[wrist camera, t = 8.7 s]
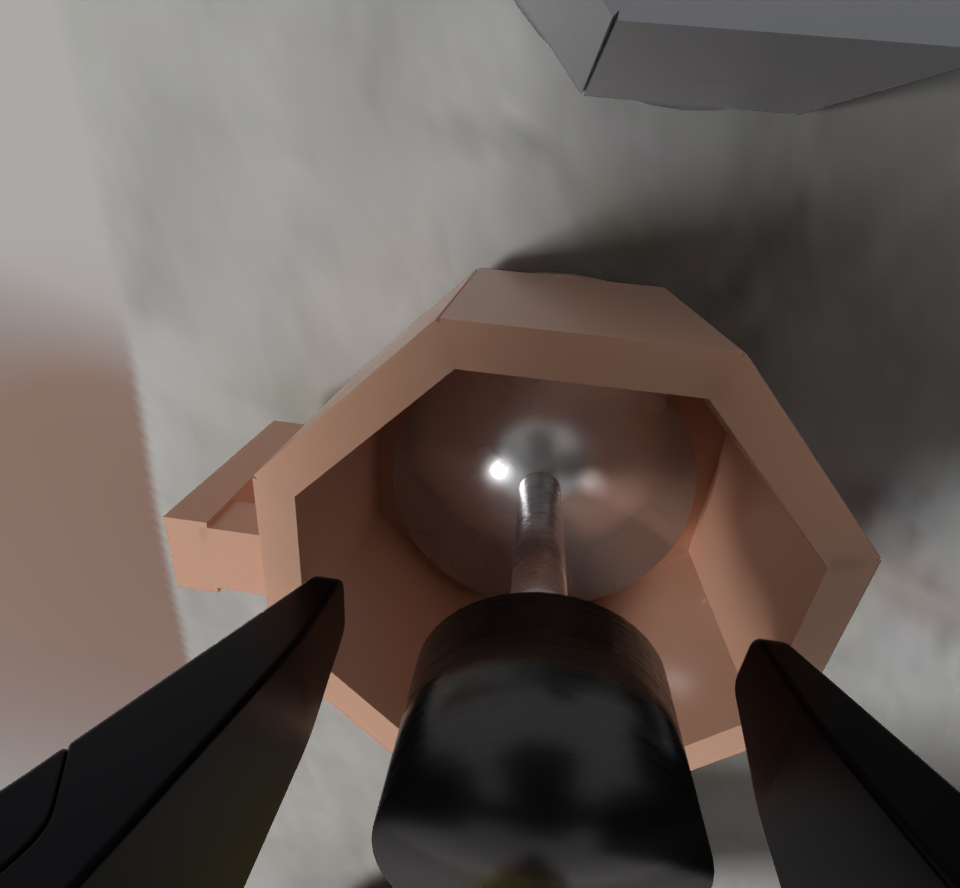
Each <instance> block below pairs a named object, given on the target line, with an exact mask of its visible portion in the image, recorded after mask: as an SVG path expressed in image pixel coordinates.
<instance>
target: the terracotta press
mask: <svg viewBox="0 0 960 888" xmlns="http://www.w3.org/2000/svg"><path fill="white" fill-rule="evenodd" d="M454 369H458V370H467V371H475V372H484V373H493V374H501V375H510V376H518V377H527V378H535V379H544V380H552V381H561V382H569V383H578V384H586V385H595V386H604V387H612V388H621V389H629V390H638V391H646V392H655V393H663V394H666V395H667V396H668V397H669V399H670V401H671V402H672V404H673V405H674V407H675V409H676V410H677V412H678V413H679V415H680V417H681V418H682V420H683V422H684V424H685V426H686V429H687V431H688V433H689V436H690V438H691V441H692V445H693V449H694V453H695V457H696V469H697V483H696V494H695V499H694V503H693V507H692V511H691V514H690V516H689V519H688V521H687V524H686V526H685V528H684V530H683V532H682V533H681V535H680V537H679V539H678V540H677V542H676V543H675V545H674V546H673V547H672V548H671V550H670V551H669V552H668V554H667V555H666V556H665V557H664V558H663V559H662V560H661V561H660V562H659V563H658V564H657V565H656V566H655V567H654V568H653V569H651V570H650V571H649V572H648V573H646V574H645V575H644V576H642V577H641V578H640V579H638V580H636V581H635V582H633V583H631V584H630V585H628V586H626V587H625V588H623V589H620V590H618V591H616V592H614V593H612V594H609V595H607V596H604V597H601V598H598V599H595V600H591V601H589V602H592V603H595V604H597V605H599V606H602V607H604V608H607V609H609V610H610V611H612V612H614V613H616V614H618V615H619V616H621V617H623V618H624V619H626V620H627V621H628V622H630V623H631V624H632V625H634V626H635V627H636V628H637V629H638V630H639V631H640V632H641V633H642V634H643V635H644V636H645V637H646V638H647V639H648V640H649V641H650V643H651V644H652V645H653V647H654V648H655V649H656V651H657V653H658V655H659V657H660V659H661V661H662V663H663V666H664V669H665V673H666V676H667V680H668V684H669V688H670V692H671V696H672V700H673V704H674V708H675V712H676V716H677V720H678V723H679V727H680V731H681V735H682V739H683V743H684V747H685V751H686V755H687V759H688V763H689V767H690V771H691V770H694V769H697V768H700V767H702V766H705V765H708V764H711V763H714V762H716V761H719V760H722V759H725V758H727V757H730V756H733V755H736V754H738V753H741V752H744V751H746V748H745V742H744V737H743V732H742V727H741V722H740V717H739V712H738V707H737V702H736V697H735V681H736V677H737V674H738V672H739V670H740V667H741V665H742V663H743V660H744V658H745V656H746V653H747V651H748V649H749V646H750V644H751V643H752V642H753V641H754V640H755V639H768V640H775V641H781V642H785V643H787V644H789V645H790V646H791V647H793V648H794V649H795V650H796V651H797V652H798V653H800V654H801V655H802V656H803V657H804V658H805V659H806V660H808V661H809V662H810V663H811V664H812V665H813V666H815V667H816V668H817V669H818V670H819V671H820V672H821V673H822V672H823V670H824V668H825V666H826V664H827V662H828V661H829V659H830V657H831V655H832V653H833V651H834V649H835V647H836V645H837V644H838V642H839V640H840V638H841V636H842V634H843V632H844V630H845V628H846V627H847V625H848V623H849V621H850V619H851V617H852V615H853V613H854V611H855V609H856V608H857V606H858V604H859V602H860V600H861V598H862V596H863V594H864V592H865V591H866V589H867V587H868V585H869V583H870V581H871V579H872V577H873V575H874V573H875V572H876V570H877V568H878V566H879V564H880V562H881V561H880V559H879V558H881V557H880V556H879V554H878V553H877V551H876V549H875V548H874V546H873V545H872V543H871V542H870V540H869V539H868V537H867V536H866V534H865V533H864V531H863V530H862V528H861V527H860V525H859V524H858V522H857V521H856V519H855V517H854V516H853V514H852V513H851V511H850V510H849V508H848V507H847V505H846V504H845V502H844V501H843V499H842V498H841V496H840V495H839V493H838V492H837V490H836V489H835V487H834V486H833V484H832V482H831V481H830V479H829V478H828V476H827V475H826V473H825V472H824V470H823V469H822V467H821V466H820V464H819V463H818V461H817V460H816V458H815V457H814V455H813V454H812V452H811V450H810V449H809V447H808V446H807V444H806V443H805V441H804V440H803V438H802V437H801V435H800V434H799V432H798V431H797V429H796V428H795V426H794V425H793V423H792V422H791V420H790V418H789V417H788V415H787V414H786V412H785V411H784V409H783V408H782V406H781V405H780V403H779V402H778V400H777V399H776V397H775V396H774V394H773V393H772V391H771V390H770V388H769V386H768V385H767V383H766V382H765V380H764V379H763V377H762V376H761V374H760V373H759V371H758V370H757V368H756V367H755V365H754V364H753V362H752V361H751V359H750V358H749V356H748V355H747V354H746V353H745V352H744V351H743V350H741V349H740V348H739V347H738V346H736V345H735V344H734V343H733V342H731V341H730V340H729V339H728V338H726V337H725V336H724V335H723V334H722V333H720V332H719V331H718V330H717V329H715V328H714V327H713V326H712V325H710V324H709V323H708V322H707V321H705V320H704V319H703V318H702V317H700V316H699V315H698V314H697V313H696V312H694V311H693V310H692V309H691V308H689V307H688V306H687V305H686V304H684V303H683V302H682V301H681V300H679V299H678V298H677V297H676V296H675V295H673V294H672V293H671V292H670V291H668V290H667V289H665V288H664V287H655V286H646V285H636V284H627V283H617V282H608V281H605V280H602V279H599V278H595V277H589V276H583V275H578V274H572V273H554V272H536V273H523V272H514V271H504V270H495V269H485V268H479V269H478V270H477V269H476V270H475V271H474V272H472V273H471V274H470V275H469V276H468V277H467V278H466V279H464V280H463V281H462V282H461V283H460V284H459V285H458V286H456V287H455V288H454V289H453V290H452V291H451V292H449V293H448V294H447V295H446V296H445V297H444V298H443V299H441V300H440V301H439V302H438V303H437V304H436V305H435V306H433V307H432V308H431V309H430V310H429V311H428V312H426V313H425V314H424V315H422V316H421V317H420V318H418V319H417V320H416V321H415V322H414V323H413V324H412V325H411V326H410V327H409V328H408V329H407V330H406V331H405V332H404V333H402V334H401V335H400V336H399V337H398V338H397V339H395V340H394V341H393V342H392V343H391V344H390V345H389V346H387V347H386V348H385V349H384V350H383V351H382V352H381V353H379V354H378V355H377V356H376V357H375V358H374V359H372V360H371V361H370V362H369V363H368V364H367V365H366V366H364V367H363V368H362V369H361V370H360V371H359V372H358V373H356V374H355V375H354V376H353V377H352V378H351V379H350V380H349V381H348V382H347V383H346V384H345V385H344V386H343V387H342V388H341V389H340V390H339V391H338V392H337V393H336V394H335V395H334V396H333V397H332V398H331V399H330V400H329V401H328V402H327V403H326V404H325V405H324V406H323V407H322V408H321V409H320V410H319V411H318V412H317V413H316V414H315V415H314V416H313V417H312V418H311V419H310V420H309V421H308V422H307V423H306V424H305V425H304V424H296V423H288V422H280V421H273V422H272V423H271V424H270V425H269V426H267V427H266V428H265V429H264V430H263V431H262V432H260V433H259V434H258V435H257V436H256V437H255V438H254V439H252V440H251V441H250V442H249V443H248V444H247V445H245V446H244V447H243V448H242V449H241V450H240V451H239V452H237V453H236V454H235V455H234V456H233V457H232V458H230V459H229V460H228V461H227V462H226V463H225V464H223V465H222V466H221V467H220V468H219V469H218V470H217V471H215V472H214V473H213V474H212V475H211V476H210V477H208V478H207V479H206V480H205V481H204V482H203V483H202V484H200V485H199V486H198V487H197V488H196V489H195V490H193V491H192V492H191V493H190V494H189V495H188V496H186V497H185V498H184V499H183V500H182V501H181V502H180V503H178V504H177V505H176V506H175V507H174V508H173V509H171V510H170V511H169V512H168V513H167V514H166V515H165V516H163V519H164V524H165V529H166V533H167V538H168V543H169V547H170V552H171V557H172V561H173V566H174V571H175V575H176V580H177V585H178V587H184V588H191V589H198V590H204V591H211V592H219V591H220V590H221V588H222V589H229V590H236V591H243V592H250V593H256V594H263V595H266V597H267V605H268V607H270V606H271V605H273V604H274V603H276V602H277V601H279V600H280V599H281V598H283V597H284V596H286V595H287V594H289V593H290V592H292V591H293V590H295V589H296V588H297V587H299V586H300V585H302V584H303V583H305V582H306V581H308V580H309V579H311V578H313V577H315V576H322V577H329V578H336V579H340V580H341V581H342V583H343V586H344V605H345V627H344V632H343V636H342V640H341V643H340V646H339V649H338V652H337V655H336V658H335V661H334V665H333V668H332V671H331V674H330V677H329V680H328V683H327V686H326V689H325V693H324V696H323V698H324V699H326V700H327V701H328V702H329V703H331V704H332V705H333V706H334V707H335V708H337V709H338V710H339V711H340V712H342V713H343V714H344V715H345V716H346V717H348V718H349V719H350V720H351V721H353V722H354V723H355V724H356V725H357V726H359V727H360V728H361V729H362V730H364V731H365V732H366V733H367V734H368V735H370V736H371V737H372V738H373V739H374V740H376V741H377V742H378V743H379V744H381V745H382V746H383V747H384V748H385V749H387V750H388V751H389V752H390V753H393V750H394V746H395V742H396V738H397V735H398V731H399V727H400V723H401V720H402V716H403V712H404V708H405V704H406V701H407V697H408V693H409V689H410V686H411V682H412V678H413V674H414V671H415V667H416V663H417V659H418V656H419V653H420V650H421V648H422V646H423V644H424V642H425V641H426V639H427V637H428V636H429V635H430V633H431V632H432V631H433V630H434V628H435V627H436V626H437V625H439V624H440V623H441V622H442V621H443V620H444V619H445V618H447V617H448V616H450V615H451V614H453V613H454V612H456V611H457V610H459V609H461V608H463V607H465V606H467V605H469V604H471V603H474V602H477V601H480V600H482V599H485V598H489V597H488V596H486V595H483V594H481V593H479V592H476V591H474V590H471V589H470V588H468V587H466V586H464V585H462V584H461V583H459V582H457V581H455V580H454V579H453V578H451V577H450V576H448V575H447V574H445V573H444V572H443V571H442V570H440V569H439V568H438V567H437V566H436V565H435V564H434V563H432V562H431V561H430V560H429V559H428V557H427V556H426V555H425V554H424V553H423V552H422V551H421V550H420V548H419V547H418V546H417V544H416V543H415V541H414V540H413V538H412V537H411V536H410V534H409V532H408V530H407V528H406V526H405V524H404V522H403V520H402V518H401V515H400V512H399V509H398V506H397V503H396V498H395V493H394V487H393V462H394V453H395V449H396V445H397V441H398V437H399V435H400V433H401V430H402V428H403V425H404V423H405V421H406V419H407V417H408V416H409V414H410V412H411V411H412V409H413V407H414V406H415V404H416V402H417V400H418V399H419V397H420V396H422V395H423V394H424V393H425V392H427V391H428V390H429V389H430V388H432V387H433V386H434V385H435V384H437V383H438V382H439V381H440V380H442V379H443V378H444V377H445V376H447V375H448V374H449V373H450V372H452V371H453V370H454Z"/></svg>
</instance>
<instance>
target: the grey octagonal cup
mask: <svg viewBox="0 0 960 888" xmlns="http://www.w3.org/2000/svg"><path fill="white" fill-rule="evenodd" d="M514 1H515V3H516V5H517V6H518V7H519V9H520V10H521V11H522V13H523V14H524V15H525V17H526V18H527V19H528V21H529V22H530V23H531V25H532V26H533V27H534V29H535V30H536V31H537V33H538V34H539V35H540V36H541V37H542V38H543V39H544V40H545V41H546V42H547V43H548V44H549V46H550V47H551V49H552V50H553V52H554V53H555V55H556V56H557V58H558V60H559V61H560V63H561V64H562V66H563V67H564V69H565V70H566V72H567V73H568V75H569V76H570V78H571V79H572V81H573V82H574V84H575V86H576V87H577V89H578V90H579V92H580V93H583V92H584V91H585V92H584V96H592V97H604V98H615V99H627V100H638V101H641V102H644V103H647V104H650V105H656V106H662V107H668V108H674V109H680V110H721V109H728V108H731V109H743V110H754V111H766V112H778V113H789V114H803V113H807V112H810V111H814V110H817V109H820V108H824V107H827V106H831V105H834V104H838V103H841V102H845V101H848V100H852V99H855V98H859V97H862V96H866V95H869V94H872V93H876V92H879V91H883V90H886V89H890V88H893V87H897V86H900V85H904V84H907V83H911V82H914V81H918V80H921V79H925V78H928V77H931V76H935V75H938V74H942V73H945V72H949V71H952V70H956V69H959V68H960V0H514Z"/></svg>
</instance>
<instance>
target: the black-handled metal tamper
mask: <svg viewBox="0 0 960 888" xmlns="http://www.w3.org/2000/svg"><path fill="white" fill-rule="evenodd" d="M696 483H697V469H696V457H695V453H694V449H693V445H692V441H691V438H690V436H689V433H688V431H687V429H686V426H685V424H684V422H683V420H682V418H681V417H680V415H679V413H678V412H677V410H676V409H675V407H674V405H673V404H672V402H671V401H670V399H669V397H668V396H667V395H666V394H663V393H655V392H646V391H638V390H629V389H621V388H612V387H604V386H595V385H586V384H578V383H569V382H561V381H552V380H544V379H535V378H527V377H518V376H510V375H501V374H493V373H484V372H475V371H467V370H458V369H454V370H453V371H452V372H450V373H449V374H448V375H447V376H445V377H444V378H443V379H442V380H440V381H439V382H438V383H437V384H435V385H434V386H433V387H432V388H430V389H429V390H428V391H427V392H425V393H424V394H423V395H422V396H420V397H419V399H418V400H417V402H416V404H415V406H414V407H413V409H412V411H411V412H410V414H409V416H408V417H407V419H406V421H405V423H404V425H403V428H402V430H401V433H400V435H399V437H398V441H397V445H396V449H395V453H394V462H393V487H394V493H395V498H396V503H397V506H398V509H399V512H400V515H401V518H402V520H403V522H404V524H405V526H406V528H407V530H408V532H409V534H410V536H411V537H412V538H413V540H414V541H415V543H416V544H417V546H418V547H419V548H420V550H421V551H422V552H423V553H424V554H425V555H426V556H427V557H428V559H429V560H430V561H431V562H432V563H434V564H435V565H436V566H437V567H438V568H439V569H440V570H442V571H443V572H444V573H445V574H447V575H448V576H450V577H451V578H453V579H454V580H455V581H457V582H459V583H461V584H462V585H464V586H466V587H468V588H470V589H471V590H474V591H476V592H479V593H481V594H483V595H486V596H488V597H489V598H485V599H482V600H480V601H477V602H474V603H471V604H469V605H467V606H465V607H463V608H461V609H459V610H457V611H456V612H454V613H453V614H451V615H450V616H448V617H447V618H445V619H444V620H443V621H442V622H441V623H440V624H439V625H437V626H436V627H435V628H434V630H433V631H432V632H431V633H430V635H429V636H428V637H427V639H426V641H425V642H424V644H423V646H422V648H421V650H420V653H419V656H418V659H417V663H416V667H415V671H414V674H413V678H412V682H411V686H410V689H409V693H408V697H407V701H406V704H405V708H404V712H403V716H402V720H401V723H400V727H399V731H398V735H397V738H396V742H395V746H394V750H393V753H392V757H391V761H390V765H389V769H388V772H387V776H386V780H385V784H384V787H383V791H382V795H381V799H380V802H379V806H378V810H377V814H376V818H375V821H374V825H373V831H372V847H373V853H374V856H375V859H376V862H377V865H378V866H379V868H380V870H381V872H382V874H383V875H384V877H385V878H386V879H387V881H388V882H389V883H390V884H391V886H392V887H393V888H711V887H712V885H713V877H714V865H713V857H712V853H711V849H710V845H709V841H708V837H707V833H706V830H705V826H704V822H703V818H702V814H701V810H700V806H699V802H698V798H697V794H696V790H695V786H694V782H693V778H692V775H691V771H690V767H689V763H688V759H687V755H686V751H685V747H684V743H683V739H682V735H681V731H680V727H679V723H678V720H677V716H676V712H675V708H674V704H673V700H672V696H671V692H670V688H669V684H668V680H667V676H666V673H665V669H664V666H663V663H662V661H661V659H660V657H659V655H658V653H657V651H656V649H655V648H654V647H653V645H652V644H651V643H650V641H649V640H648V639H647V638H646V637H645V636H644V635H643V634H642V633H641V632H640V631H639V630H638V629H637V628H636V627H635V626H634V625H632V624H631V623H630V622H628V621H627V620H626V619H624V618H623V617H621V616H619V615H618V614H616V613H614V612H612V611H610V610H609V609H607V608H604V607H602V606H599V605H597V604H595V603H592V602H589V601H591V600H595V599H598V598H601V597H604V596H607V595H609V594H612V593H614V592H616V591H618V590H620V589H623V588H625V587H626V586H628V585H630V584H631V583H633V582H635V581H636V580H638V579H640V578H641V577H642V576H644V575H645V574H646V573H648V572H649V571H650V570H651V569H653V568H654V567H655V566H656V565H657V564H658V563H659V562H660V561H661V560H662V559H663V558H664V557H665V556H666V555H667V554H668V552H669V551H670V550H671V548H672V547H673V546H674V545H675V543H676V542H677V540H678V539H679V537H680V535H681V533H682V532H683V530H684V528H685V526H686V524H687V521H688V519H689V516H690V514H691V511H692V507H693V503H694V499H695V494H696Z"/></svg>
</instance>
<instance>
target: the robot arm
mask: <svg viewBox="0 0 960 888" xmlns="http://www.w3.org/2000/svg"><path fill="white" fill-rule="evenodd" d="M344 627H345V605H344V586H343V583H342V581H341V580H340V579H336V578H329V577H322V576H315V577H313V578H311V579H309V580H308V581H306V582H305V583H303V584H302V585H300V586H299V587H297V588H296V589H295V590H293V591H292V592H290V593H289V594H287V595H286V596H284V597H283V598H281V599H280V600H279V601H277V602H276V603H274V604H273V605H271V606H270V607H268V608H267V609H265V610H264V611H262V612H261V613H260V614H258V615H257V616H255V617H254V618H252V619H251V620H249V621H248V622H246V623H245V624H244V625H242V626H241V627H239V628H238V629H236V630H235V631H233V632H232V633H230V634H229V635H228V636H226V637H225V638H223V639H222V640H220V641H219V642H217V643H216V644H214V645H213V646H211V647H210V648H209V649H207V650H206V651H204V652H203V653H201V654H200V655H198V656H197V657H195V658H194V659H193V660H191V661H190V662H188V663H187V664H185V665H184V666H182V667H181V668H179V669H178V670H177V671H175V672H174V673H172V674H171V675H169V676H168V677H166V678H165V679H163V680H162V681H161V682H159V683H158V684H156V685H155V686H153V687H152V688H150V689H149V690H147V691H146V692H144V693H143V694H142V695H140V696H139V697H137V698H136V699H135V700H133V701H131V702H130V703H128V704H127V705H126V706H124V707H123V708H121V709H120V710H118V711H117V712H115V713H114V714H112V715H111V716H109V717H108V718H107V719H105V720H104V721H102V722H101V723H99V724H98V725H96V726H95V727H93V728H92V729H91V730H89V731H88V732H86V733H85V734H83V735H82V736H80V737H79V738H77V739H76V740H75V741H73V742H72V743H71V744H70V745H69V747H68V750H67V749H61V750H60V751H58V752H57V753H55V754H54V755H52V756H51V757H49V758H48V759H47V760H45V761H44V762H42V763H41V764H39V765H38V766H36V767H35V768H34V769H32V770H30V771H29V772H27V773H26V774H25V775H23V776H22V777H21V778H19V779H17V780H16V781H14V782H12V783H11V784H10V785H8V786H7V787H5V788H3V789H2V790H0V888H244V886H245V884H246V882H247V879H248V877H249V875H250V873H251V870H252V868H253V866H254V863H255V861H256V859H257V857H258V854H259V852H260V850H261V848H262V845H263V843H264V841H265V839H266V836H267V834H268V832H269V830H270V827H271V825H272V823H273V821H274V818H275V816H276V814H277V812H278V809H279V807H280V805H281V803H282V800H283V798H284V796H285V793H286V791H287V789H288V787H289V784H290V782H291V780H292V778H293V775H294V773H295V771H296V769H297V766H298V764H299V762H300V760H301V757H302V755H303V753H304V750H305V748H306V745H307V743H308V740H309V738H310V735H311V732H312V729H313V726H314V723H315V720H316V717H317V714H318V711H319V708H320V705H321V702H322V699H323V696H324V693H325V689H326V686H327V683H328V680H329V677H330V674H331V671H332V668H333V665H334V661H335V658H336V655H337V652H338V649H339V646H340V643H341V640H342V636H343V632H344ZM735 697H736V702H737V707H738V712H739V717H740V722H741V727H742V732H743V737H744V742H745V748H746V753H747V758H748V763H749V768H750V773H751V778H752V783H753V788H754V793H755V797H756V802H757V806H758V810H759V814H760V818H761V821H762V825H763V828H764V832H765V835H766V839H767V842H768V845H769V848H770V852H771V855H772V858H773V862H774V865H775V868H776V872H777V875H778V878H779V882H780V885H781V888H960V792H959V791H958V790H956V789H955V788H954V787H953V786H952V785H951V784H950V783H948V782H947V781H946V780H945V779H944V778H943V777H941V776H940V775H939V774H938V773H937V772H936V771H935V770H933V769H932V768H931V767H930V766H929V765H928V764H926V763H925V762H924V761H923V760H922V759H921V758H920V757H918V756H917V755H916V754H915V753H914V752H913V751H911V750H910V749H909V748H908V747H907V746H906V745H905V744H903V743H902V742H901V741H900V740H899V739H898V738H896V737H895V736H894V735H893V734H892V733H891V732H890V731H888V730H887V729H886V728H885V727H884V726H883V725H881V724H880V723H879V722H878V721H877V720H876V719H875V718H873V717H872V716H871V715H870V714H869V713H868V712H866V711H865V710H864V709H863V708H862V707H861V706H860V705H858V704H857V703H856V702H855V701H854V700H853V699H851V698H850V697H849V696H848V695H847V694H846V693H845V692H843V691H842V690H841V689H840V688H839V687H838V686H836V685H835V684H834V683H833V682H832V681H831V680H830V679H828V678H827V677H826V676H825V675H824V674H823V673H821V672H820V671H819V670H818V669H817V668H816V667H815V666H813V665H812V664H811V663H810V662H809V661H808V660H806V659H805V658H804V657H803V656H802V655H801V654H800V653H798V652H797V651H796V650H795V649H794V648H793V647H791V646H790V645H789V644H787V643H785V642H781V641H775V640H768V639H755V640H754V641H753V642H752V643H751V644H750V646H749V649H748V651H747V653H746V656H745V658H744V660H743V663H742V665H741V667H740V670H739V672H738V674H737V677H736V681H735Z"/></svg>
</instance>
